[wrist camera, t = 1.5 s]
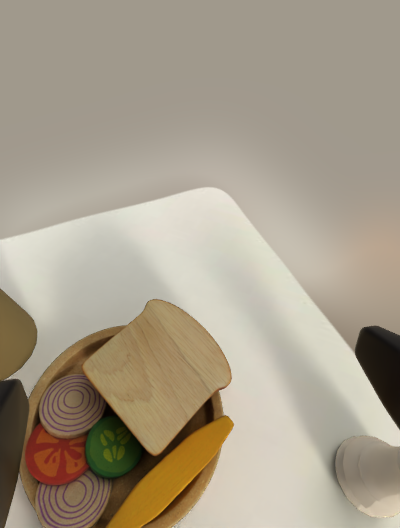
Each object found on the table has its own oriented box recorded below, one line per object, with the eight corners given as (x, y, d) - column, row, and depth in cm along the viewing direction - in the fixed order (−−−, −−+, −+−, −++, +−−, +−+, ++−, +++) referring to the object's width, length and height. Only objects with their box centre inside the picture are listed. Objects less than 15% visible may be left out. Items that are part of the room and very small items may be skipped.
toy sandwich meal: (-9, 399, 20) (-44, 379, 16) (163, 297, 26) (167, 265, 23) (84, 615, 15) (65, 655, 12) (266, 428, 22) (293, 415, 18)
